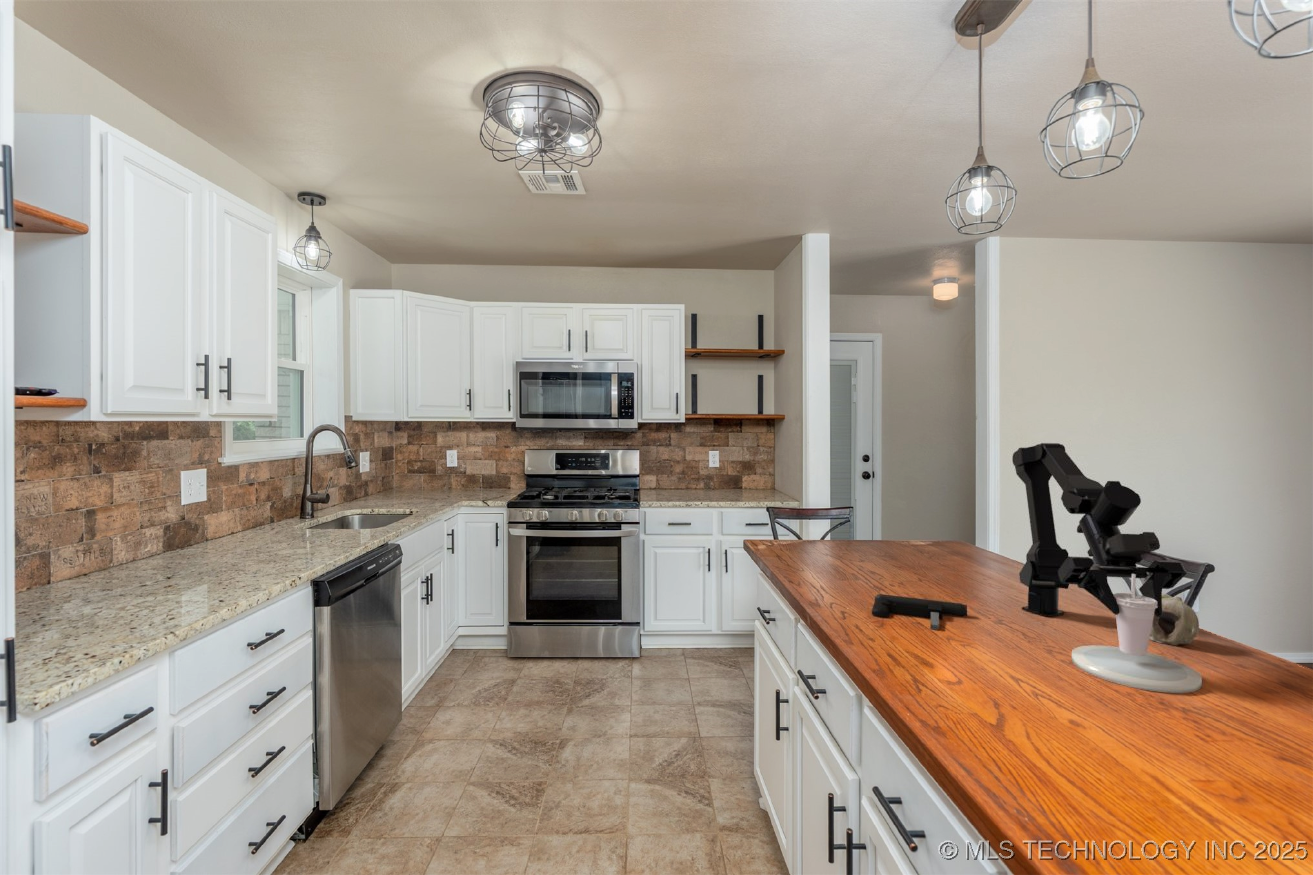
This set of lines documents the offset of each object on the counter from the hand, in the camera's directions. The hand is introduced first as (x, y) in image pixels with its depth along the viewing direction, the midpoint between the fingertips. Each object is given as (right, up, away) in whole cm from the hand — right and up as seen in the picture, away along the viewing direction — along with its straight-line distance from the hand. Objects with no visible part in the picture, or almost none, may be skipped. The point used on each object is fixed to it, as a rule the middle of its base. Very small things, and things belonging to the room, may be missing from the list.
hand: (1138, 614), depth 104 cm
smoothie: (0, -7, +2) cm, 7 cm away
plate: (0, -10, +1) cm, 10 cm away
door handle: (-25, -10, +31) cm, 41 cm away
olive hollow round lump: (+20, -11, +16) cm, 28 cm away
